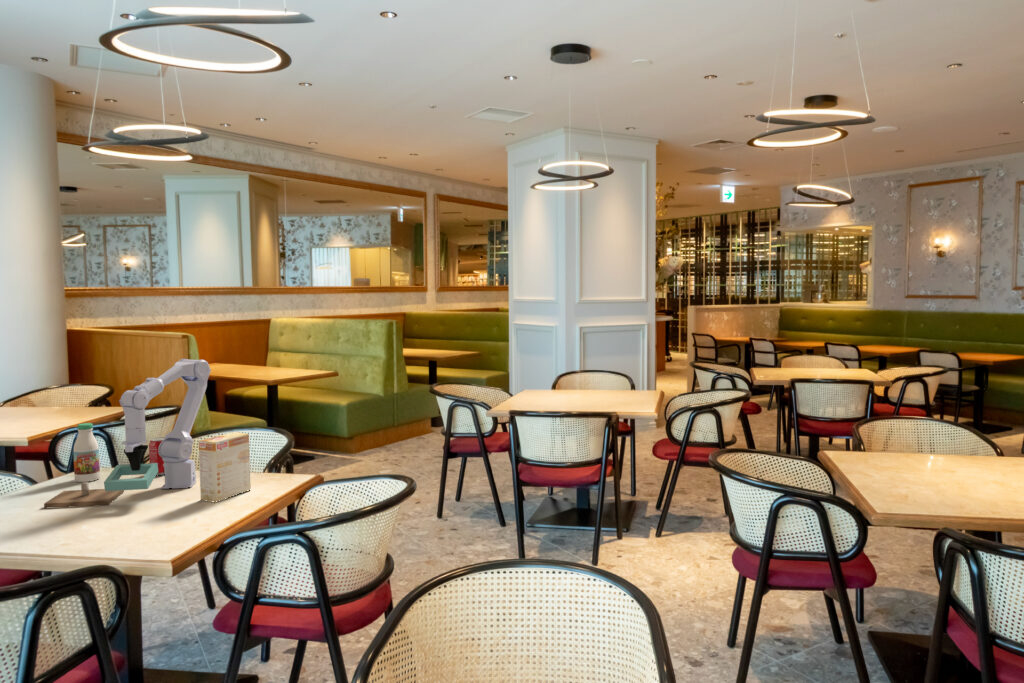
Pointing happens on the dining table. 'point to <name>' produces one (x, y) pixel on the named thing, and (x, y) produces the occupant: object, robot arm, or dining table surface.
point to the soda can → (156, 454)
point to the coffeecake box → (224, 466)
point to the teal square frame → (131, 484)
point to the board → (83, 497)
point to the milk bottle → (86, 455)
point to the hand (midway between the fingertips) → (136, 469)
